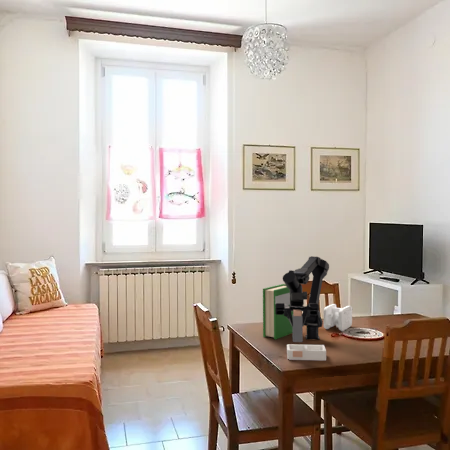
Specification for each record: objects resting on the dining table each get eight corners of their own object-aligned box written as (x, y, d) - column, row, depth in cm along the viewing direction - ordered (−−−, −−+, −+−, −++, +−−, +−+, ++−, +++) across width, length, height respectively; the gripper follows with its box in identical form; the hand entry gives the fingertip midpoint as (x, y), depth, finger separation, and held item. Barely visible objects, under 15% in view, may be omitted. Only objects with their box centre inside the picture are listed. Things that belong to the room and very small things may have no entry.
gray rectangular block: (292, 339, 204) (292, 309, 203) (301, 339, 204) (301, 309, 203) (293, 341, 200) (292, 311, 199) (302, 342, 200) (302, 311, 199)
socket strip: (286, 353, 207) (286, 344, 207) (324, 354, 205) (324, 345, 205) (287, 359, 198) (287, 350, 198) (326, 360, 196) (326, 351, 196)
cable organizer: (334, 324, 258) (334, 302, 257) (353, 326, 251) (353, 304, 251) (323, 330, 245) (323, 307, 245) (342, 333, 239) (342, 310, 239)
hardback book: (275, 339, 228) (275, 290, 228) (263, 336, 233) (262, 288, 232) (295, 332, 242) (295, 285, 241) (283, 329, 247) (282, 283, 246)
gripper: (275, 284, 206) (275, 315, 195) (318, 284, 204) (321, 316, 193) (275, 299, 214) (275, 329, 203) (317, 299, 212) (319, 330, 201)
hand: (297, 326), depth 200 cm, fingers closed on gray rectangular block, 4 cm apart
